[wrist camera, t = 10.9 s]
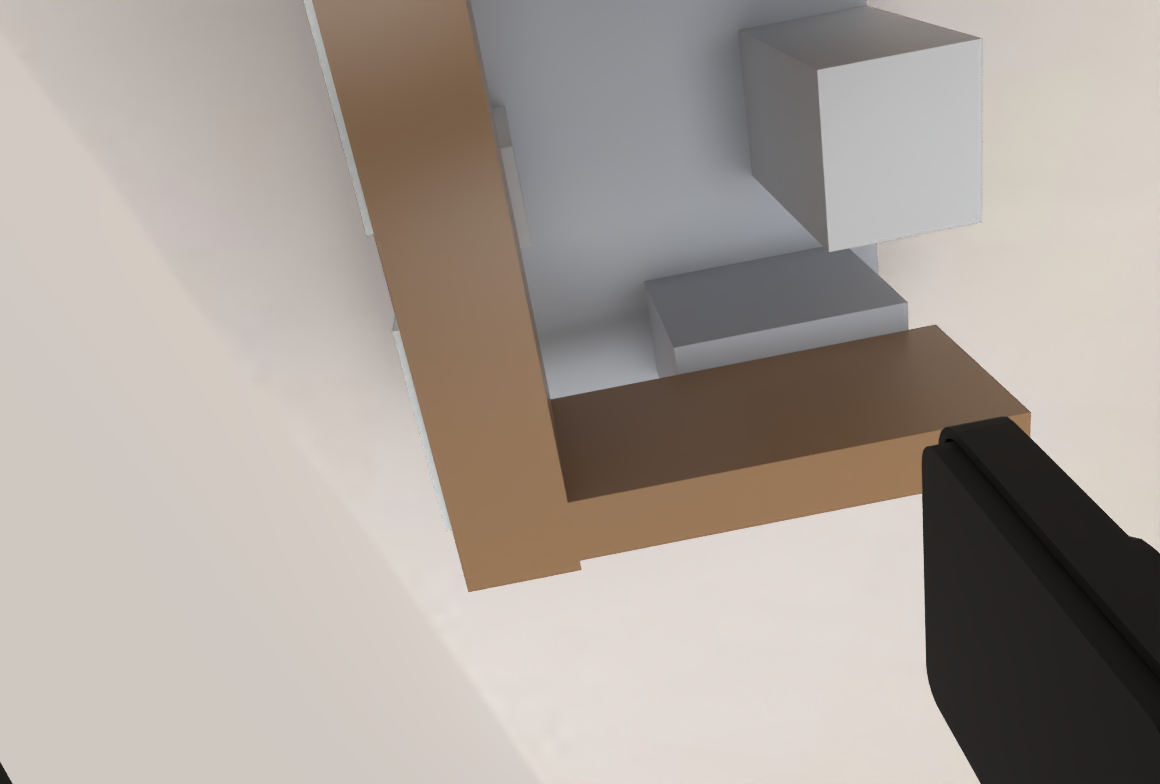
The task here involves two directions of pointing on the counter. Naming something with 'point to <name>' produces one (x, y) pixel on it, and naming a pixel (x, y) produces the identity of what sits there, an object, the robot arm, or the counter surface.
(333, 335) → the counter surface
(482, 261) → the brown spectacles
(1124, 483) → the counter surface
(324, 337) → the counter surface
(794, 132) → the grey post plate
